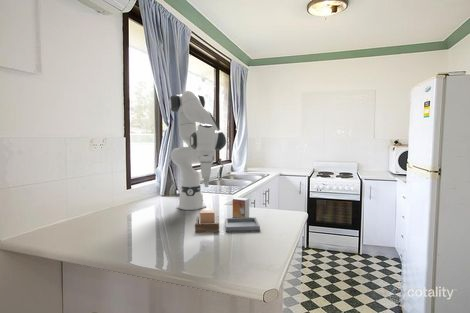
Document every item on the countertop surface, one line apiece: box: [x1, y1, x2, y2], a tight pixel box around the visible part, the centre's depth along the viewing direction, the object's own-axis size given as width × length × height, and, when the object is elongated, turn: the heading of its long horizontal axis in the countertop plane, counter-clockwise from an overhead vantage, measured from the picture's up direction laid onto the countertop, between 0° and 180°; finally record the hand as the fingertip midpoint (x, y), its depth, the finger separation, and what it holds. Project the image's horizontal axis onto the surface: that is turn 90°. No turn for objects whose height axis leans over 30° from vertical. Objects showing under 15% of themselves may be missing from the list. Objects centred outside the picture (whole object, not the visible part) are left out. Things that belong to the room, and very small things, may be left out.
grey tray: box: [224, 216, 261, 233], centre depth 144 cm, size 15×16×2 cm
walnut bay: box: [194, 215, 220, 234], centre depth 143 cm, size 14×11×4 cm
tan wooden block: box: [199, 209, 216, 224], centre depth 144 cm, size 5×7×8 cm
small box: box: [232, 196, 250, 218], centre depth 162 cm, size 8×6×10 cm
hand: (207, 185), depth 143 cm, fingers open, 8 cm apart
